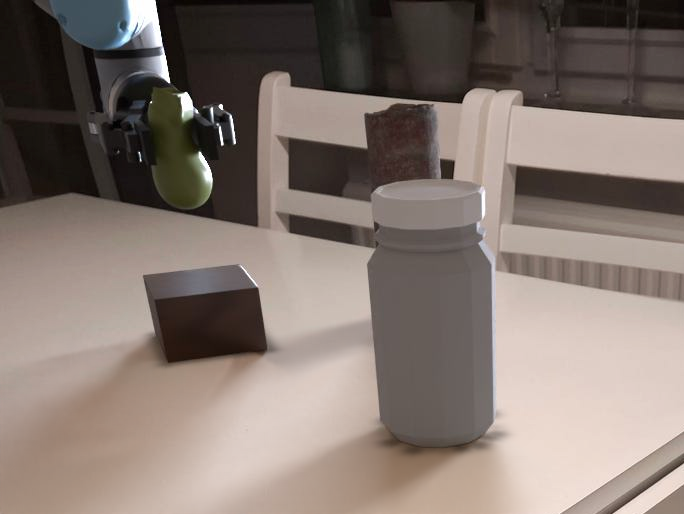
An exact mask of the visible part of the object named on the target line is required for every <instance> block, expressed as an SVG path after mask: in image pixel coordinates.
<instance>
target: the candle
mask: <svg viewBox="0 0 684 514" xmlns="http://www.w3.org/2000/svg"><path fill="white" fill-rule="evenodd" d="M438 113H439V112H438V107H437V104H436V103H431V104H430V103H417V104H416V103H403V102H396V103H393V104H390V105H389V106H388V107H387V108H386V109H381V110H378V111H374V112H373V113H369V112H365V113H364V114H363V117H364V118H363V119H364V130H365V136H366V137H365V138H366V147H367V162H368V163H367V164H368V173H369V183H370V195H371V194H372V193H373V192H374V191H375V190H376V189H377V188H378V187H379V186H383V185H387V184H391V183H395V182H401V181H410V180H420V179H442V171H441V170H442V169H441V153H440V152H441V150H440V135H439V115H438ZM378 229H379V224H378V223H377V222H375V221H373V230H374V232H373V233H374V234H375V233H376V232H377V231H378ZM374 241H375V243H374V244H375V249H376V248H377V246H378V244H379V243H378V242H377V241H376V240H374Z"/></svg>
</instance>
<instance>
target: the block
mask: <svg viewBox="0 0 684 514" xmlns="http://www.w3.org/2000/svg"><path fill="white" fill-rule="evenodd" d="M142 278H143V283H144V289H145V292H146V297H147V298H146V299H147V302H148V306H149V311H150V316H151V320H152V325H153V329H154V330H153V331H154V334H155V337H156V340H157V341H158V344H159V346H160V349H161V351H162V353H163V355H164V358H165V360H166V363H167V364H173V363H181V362H187V361H188V362H189V361H195V360H202V359H208V358H209V359H210V358H216V357H223V356H229V355H230V356H232V355H237V354H238V355H239V354H244V353H252V352H259V351H266V350H268V341H267V334H266V329H265V321H264V315H263V308H262V301H261V293H260V288H259V286H258V285H257V284H256V282H255V281H254V280H253V279H252V278H251V276H250V275H249V274H248V273H247V271H246V270H245V269H244V267H242V265H241V264H240V263H238V264H237V263H235V264H227V265H220V266H210V267H202V268H192V269H185V270H177V271H176V270H175V271H165V272H157V273H150V274H143V275H142Z"/></svg>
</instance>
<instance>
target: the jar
mask: <svg viewBox="0 0 684 514" xmlns="http://www.w3.org/2000/svg"><path fill="white" fill-rule="evenodd" d="M370 202H371V203H370V204H371V214H372V221H373V222H374V221H375V222H377V223H378V224H379V229H378V231H377V232H376V233H375V232H374V234H373V240H374V241H375V240H376V241H377V242H378V243H379V244H378V246H377V248H376V247H375V249H374V250H373V253H372V255H371V256H370V258H369V259H368V261H367V263H366V268H367V281H368V291H369V303H370V314H371V315H370V316H371V327H372V338H373V339H372V341H373V353H374V364H375V376H376V386H377V398H378V410H379V411H378V412H379V421H380V422H381V423H382V424H383V425H384V426H385V427H386V428H387V429H388V430H389V431H390V433H391V434H392V435H393V436H394V437H395V438H396V439H397V440H398V441H399V442H401V443H405V444H409V445H412V446H417V447H420V448H425V447H426V448H449V447H455V446H459V445H464V444H470V443H472V442H473V441H475V440H477V439H479V438H481V437H483V436H484V435H485V434H486V433H487V431H488V430H489V429H490V428H491V427H492V425H493V424H494V422H495V419H496V414H497V412H498V411H497V410H498V409H497V408H498V407H497V406H498V405H497V403H498V401H497V327H496V325H497V319H496V318H497V317H496V313H497V312H496V311H497V310H496V309H497V308H496V255H495V254H494V253H493V251H492V250H491V249H490V247H489V246H488V244H487V243H486V242H485V240H484V238H485V236H486V233H487V228H485V227H483V226H481V222H482V221H483V219H484V218H485V216H486V188H485V187H483V186H482V185H479V184H478V183H475V182H473V181H469V180H468V181H467V180H461V179H460V180H459V179H450V178H441V179H420V180H410V181H401V182H395V183H391V184H387V185H383V186H379V187H378V188H377V189H376V190H375V191H374V192H373V193H372V194H371V193H370Z"/></svg>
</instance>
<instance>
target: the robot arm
mask: <svg viewBox="0 0 684 514" xmlns="http://www.w3.org/2000/svg"><path fill="white" fill-rule="evenodd" d="M31 1H32V2H33V3H35V5H37V6H38V7H39V8H40V9H42V10H43V11H45V12H46V13H47V14H48V15H50V16H51V17H52V18H54V19H56V21H57V23H58V25H60V27H61V28H62V29H63V31H64V32H65V33H66V34H67V35H68V36H69V37H70V38H72V39H73V40H74V41H75V42H77V43H78V44H80V45H82V46H84V47H87V48H90V49H92V52H93V56H94V57H93V58H94V63H95V66H96V72H97V76H98V80H99V81H98V82H99V84H100V85H99V86H100V92H99V95H100V100H101V103H102V109H103V110H102V111H103V112H96V111H95V110H90V111H89V112H86V119H87V123H88V128H89V132H90V136H91V141H92V142H93V143H96V144H99V145H100V146H101V147H102V149H103V151H104V153H105V154H106V155H109V156H116V155H117V154H119V153H120V150H119V149H125V152H126V153H125V154H126V157H127V162H128V163H130V164H137V163H141V162H142V159H143V161H144V162H145V164H146V165H147V167H151V166H153V165H157V163H156V158H155V153H154V148H153V143H152V138H151V129H150V125H149V121H148V109H149V103H150V102H152V93H153V87H157V88H168V87H171V88H174V89H176V90H178V89H177V87H175V86H174V85H173V84H172V83H171V81H170V77H169V71H168V70H169V69H168V65H167V59H166V55H165V50H164V46H163V42H162V36H161V29H160V25H159V23H160V22H159V16H158V12H157V5H156V0H31ZM192 107H193V123H192V129H191V132H192V137H193V140H194V142H195V144H196V146H197V145H198V149H199V151H200V153H201V154H203V155H204V156H205V157H206V158H207V159H208V160H210V161H219V160H220V158H219V151H218V147H222V146H227V147H232V146H234V145H236V138H235V137H236V135H235V131H234V123H233V118H232V114H231V113H229V112H228V111H226V110H225V109H223V104H222V103H218V102H213V103H212V104H209V105H203V107H201V108H200V107H199V112H198V110H197V108H196V107H194V106H192Z"/></svg>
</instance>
